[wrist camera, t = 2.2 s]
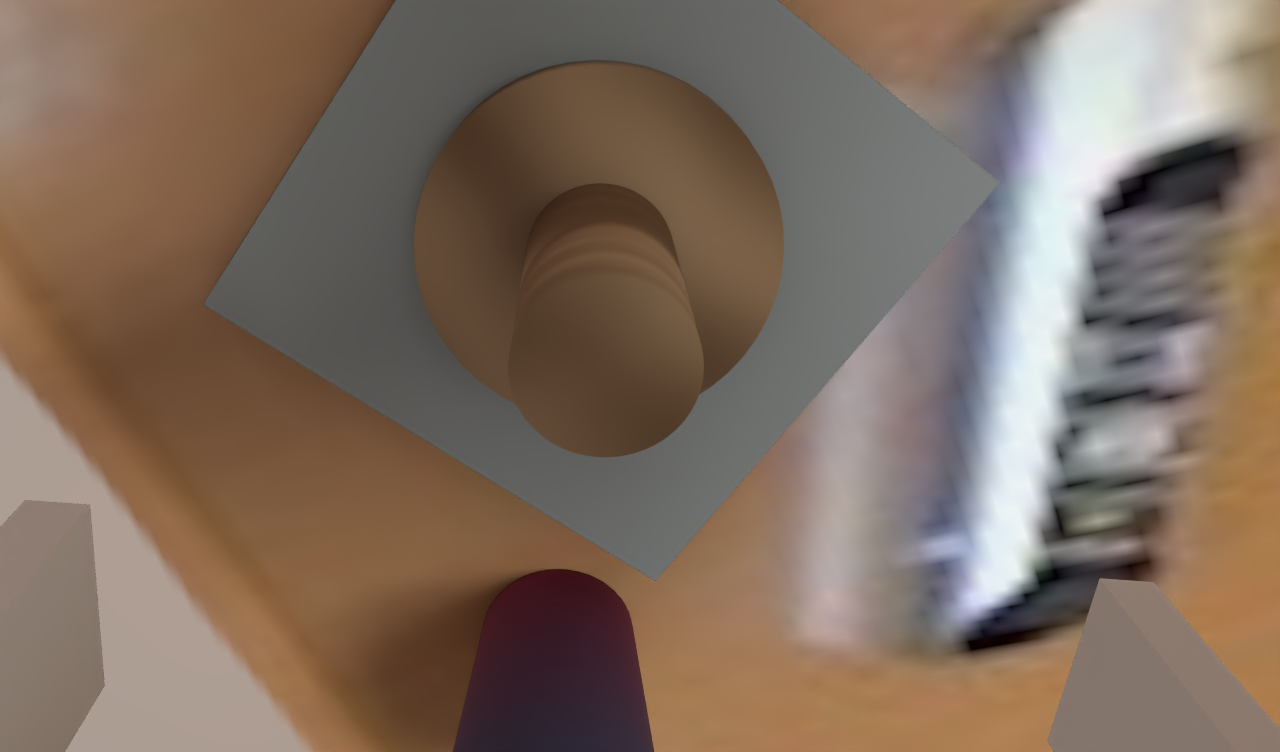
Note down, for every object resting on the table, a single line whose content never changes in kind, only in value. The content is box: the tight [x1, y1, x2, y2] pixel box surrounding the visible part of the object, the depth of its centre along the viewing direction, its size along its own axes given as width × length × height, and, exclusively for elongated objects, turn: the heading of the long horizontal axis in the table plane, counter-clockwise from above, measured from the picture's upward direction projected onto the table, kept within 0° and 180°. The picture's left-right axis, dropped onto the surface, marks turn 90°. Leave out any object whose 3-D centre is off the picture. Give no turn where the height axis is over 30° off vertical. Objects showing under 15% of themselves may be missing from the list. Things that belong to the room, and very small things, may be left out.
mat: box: [203, 0, 1000, 581], centre depth 32 cm, size 16×16×1 cm
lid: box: [414, 60, 784, 457], centre depth 27 cm, size 10×10×9 cm
